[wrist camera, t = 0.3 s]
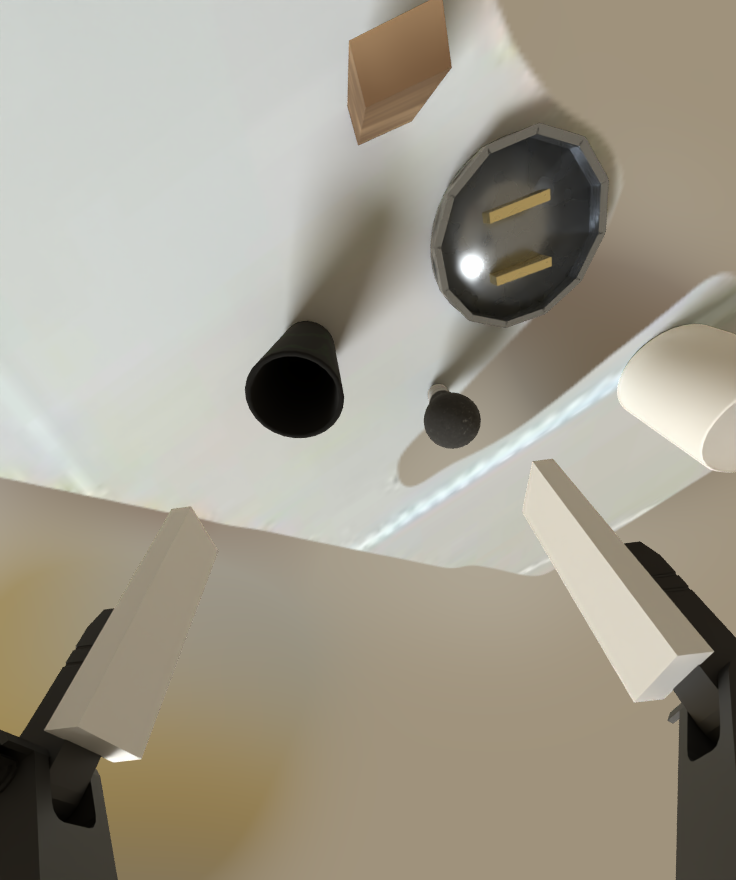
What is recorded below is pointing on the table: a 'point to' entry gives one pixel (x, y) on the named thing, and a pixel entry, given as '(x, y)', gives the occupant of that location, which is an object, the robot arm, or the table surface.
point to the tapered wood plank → (396, 69)
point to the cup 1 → (297, 383)
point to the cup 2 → (687, 391)
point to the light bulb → (450, 418)
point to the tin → (519, 225)
